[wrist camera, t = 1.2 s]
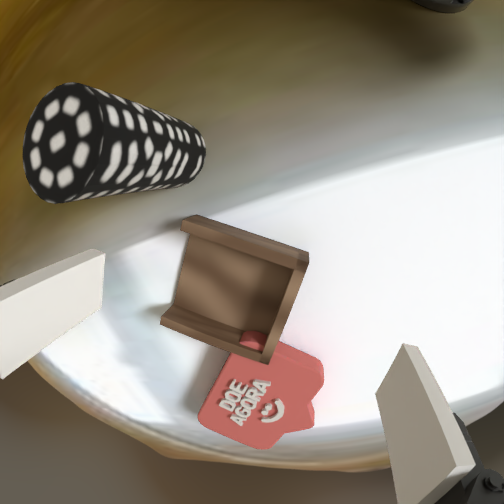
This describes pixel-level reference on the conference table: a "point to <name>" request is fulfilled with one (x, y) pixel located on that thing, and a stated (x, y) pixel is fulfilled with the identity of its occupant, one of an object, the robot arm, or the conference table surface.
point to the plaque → (263, 394)
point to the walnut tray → (234, 287)
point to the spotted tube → (105, 146)
